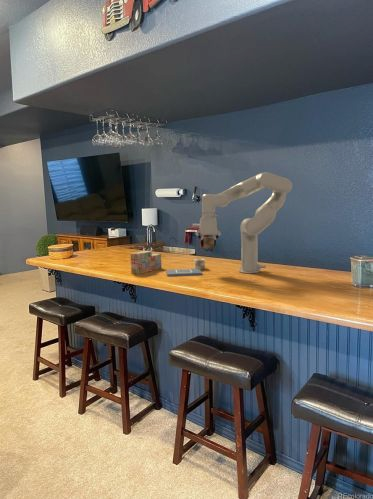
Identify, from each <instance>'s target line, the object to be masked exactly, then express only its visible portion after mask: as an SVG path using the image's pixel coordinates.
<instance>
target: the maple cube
mask: <svg viewBox="0 0 373 499" xmlns="http://www.w3.org/2000/svg"><path fill="white" fill-rule="evenodd" d="M193 265H194V268H193V269H197V268H199V269H200V271H203V270H206V260H205V259H204V258H194V259H193Z"/></svg>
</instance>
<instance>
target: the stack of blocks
mask: <svg viewBox="0 0 373 499" xmlns="http://www.w3.org/2000/svg"><path fill="white" fill-rule="evenodd" d="M130 269H131V270H130V272H131V274H135V273H136V275H140V273H141V274H145V273H148V271H149V272H151V270H152V271H155V270H160V269H162V254H161V253H152V251H151V250H141V251H137V252H131V253H130ZM144 272H145V273H144Z"/></svg>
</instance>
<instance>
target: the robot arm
mask: <svg viewBox="0 0 373 499" xmlns="http://www.w3.org/2000/svg"><path fill="white" fill-rule="evenodd" d="M262 189H268V190H271V191H272V194H271V196H269V198H268V199H267V200H266V201H265V202H264V203H263V204H262V205H260V207H258V208H257V209H256V210H255V213H254V216H253V217H251V218H250V217H248V218H244V219H243V220H242V222H241V223H240V238H241V239H240V240H241V245H240V246H241V248H240V249H241V250H240V253H241V257H240V258H241V268H238V272H239V273H243V274H257V273H261V269H266V268H267V266H266V264H259V261H258V259H259V258H258V256H259V255H258V254H259V252H258V246H259V243H258V242H259V238H258V235H260V234H261V233H262V232H263V231H265V229H266V228H268V227H269V226H270V225H271V224H272V223H273V222H274V221H275V220H276V216H277V212H279V210H280V209H281V208H282V207H283V206H284V204H285V202H286V198H287V194H289V193H290V192H291V191H292V189H293V183H292V181H291V180H290V179H289V178H286V177H283V176H280V175H277V174H274V173H271V172H268V171H267V172H266V171H264V172H261V173H258V174H256V175H254V176H251V177H250V178H248V179H246V180H243V181H241V182H239V183H238V184H235V185H234V186H231V187H230V188H228V189H226V190H223V191H222V192H219V193H217V194H213V193H204V194H202V196H201V217H200V219H199V225H198V226H199V229H198V230H196V232H195V233H194V235H195V236H196V237H197V238H199V240H200V246H201V247H202V248H203V237H205V236H211V237H213V238H214V248H215V246H216V243H217V240H218V238H219V237H220V236H221V235H222V232H221V231H220V230H219V229H218V223H217V222H218V221H217V218H216V217H218V213H216V207H220V208H225V207H226V206H228V205H229V203H231V202H233V201H235V200H238V199H242V198H246V197H248V196H250V195H252V194H254V193H256V192H259V191H261V190H262Z"/></svg>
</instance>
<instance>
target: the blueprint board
mask: <svg viewBox="0 0 373 499" xmlns="http://www.w3.org/2000/svg"><path fill="white" fill-rule="evenodd" d="M202 275H203V272H202V270H200V269H199V268H197V269H195V268H177V269H176V268H174V269H166V276H167V277H181V276H183V277H184V276H185V277H187V276H202Z"/></svg>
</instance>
